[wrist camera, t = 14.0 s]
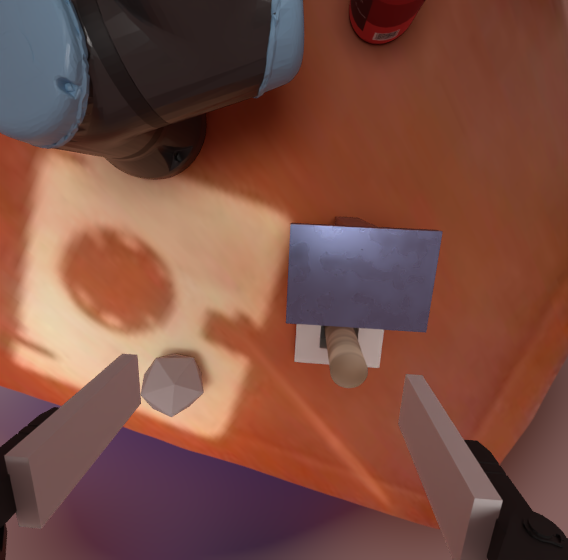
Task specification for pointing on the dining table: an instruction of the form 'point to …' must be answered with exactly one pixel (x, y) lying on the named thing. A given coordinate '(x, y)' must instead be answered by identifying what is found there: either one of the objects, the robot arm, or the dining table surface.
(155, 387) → the die
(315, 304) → the slate blue panel
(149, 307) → the dining table surface
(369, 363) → the socket block
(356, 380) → the peg
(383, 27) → the canned food
